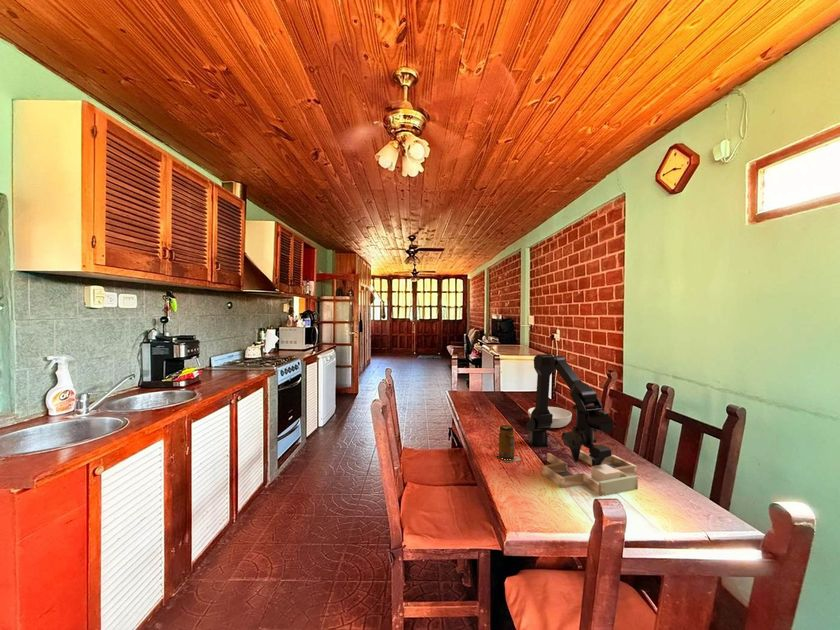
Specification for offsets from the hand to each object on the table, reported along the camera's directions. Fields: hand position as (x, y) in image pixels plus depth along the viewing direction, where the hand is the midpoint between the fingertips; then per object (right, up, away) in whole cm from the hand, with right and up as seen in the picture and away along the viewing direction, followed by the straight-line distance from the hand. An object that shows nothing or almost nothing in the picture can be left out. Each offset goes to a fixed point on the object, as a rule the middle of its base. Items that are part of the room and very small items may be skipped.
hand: (584, 467), depth 129 cm
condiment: (-25, -2, +13) cm, 28 cm away
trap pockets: (+1, -2, -2) cm, 3 cm away
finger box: (+1, -2, -2) cm, 3 cm away
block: (+3, -2, -9) cm, 10 cm away
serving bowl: (+6, -1, +52) cm, 52 cm away
